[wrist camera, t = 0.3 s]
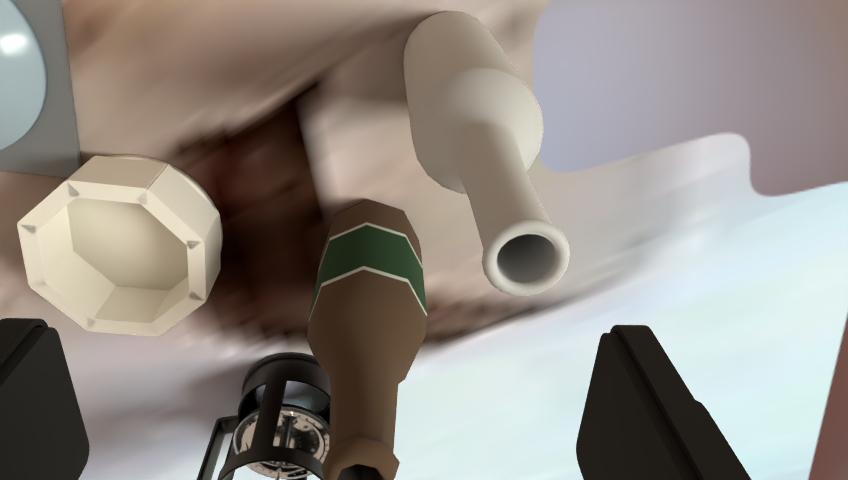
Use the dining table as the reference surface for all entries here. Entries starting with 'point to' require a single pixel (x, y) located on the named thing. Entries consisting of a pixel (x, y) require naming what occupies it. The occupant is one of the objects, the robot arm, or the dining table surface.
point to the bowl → (124, 245)
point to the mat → (48, 103)
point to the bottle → (483, 146)
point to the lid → (19, 75)
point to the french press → (274, 424)
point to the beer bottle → (366, 334)
